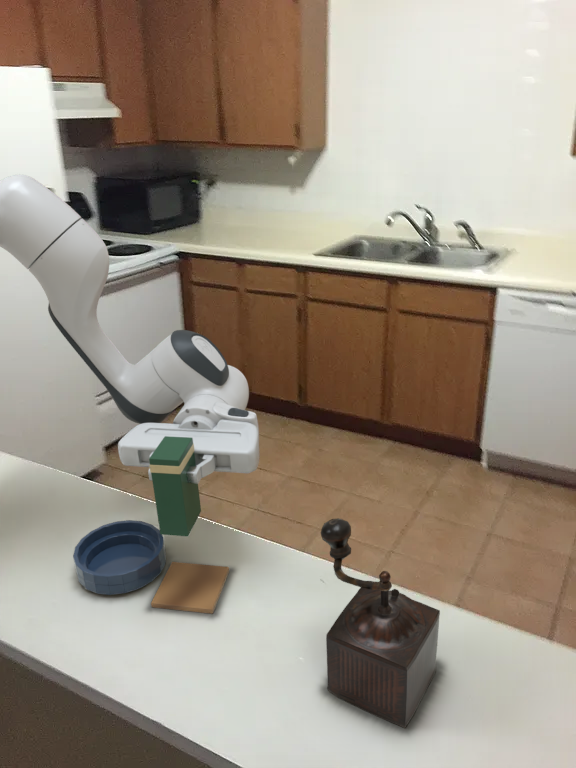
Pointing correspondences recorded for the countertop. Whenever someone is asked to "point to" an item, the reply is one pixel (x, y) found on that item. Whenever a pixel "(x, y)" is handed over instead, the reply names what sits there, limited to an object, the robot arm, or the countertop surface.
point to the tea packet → (175, 486)
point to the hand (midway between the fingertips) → (172, 477)
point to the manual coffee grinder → (379, 642)
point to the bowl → (120, 557)
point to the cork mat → (191, 587)
